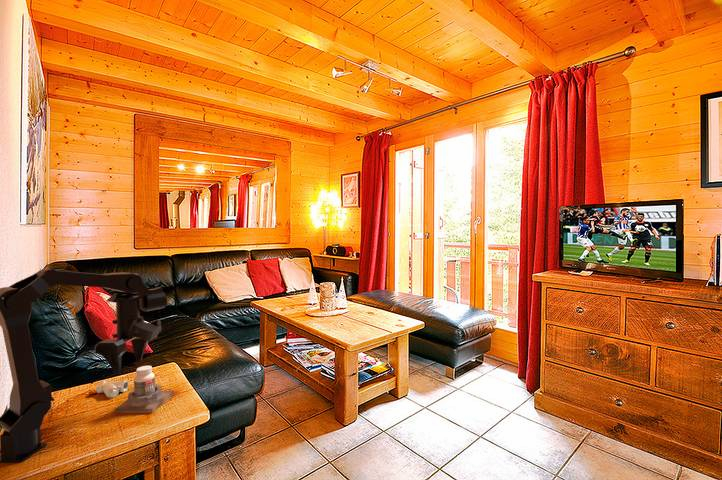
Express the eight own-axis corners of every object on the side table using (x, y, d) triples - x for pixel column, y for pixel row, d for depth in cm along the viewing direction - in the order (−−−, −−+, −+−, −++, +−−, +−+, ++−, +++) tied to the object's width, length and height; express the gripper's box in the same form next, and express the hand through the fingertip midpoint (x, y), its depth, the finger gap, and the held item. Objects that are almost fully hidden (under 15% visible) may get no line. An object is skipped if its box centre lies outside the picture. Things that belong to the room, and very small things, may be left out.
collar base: (152, 412, 99) (152, 400, 99) (114, 413, 99) (114, 400, 99) (173, 394, 110) (173, 383, 110) (139, 394, 110) (138, 383, 110)
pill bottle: (149, 403, 102) (147, 371, 101) (130, 404, 101) (129, 371, 101) (159, 395, 107) (158, 364, 107) (141, 395, 107) (140, 364, 107)
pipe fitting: (116, 400, 108) (129, 388, 115) (115, 388, 107) (128, 377, 114) (89, 401, 107) (104, 390, 114) (88, 390, 107) (103, 378, 113)
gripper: (133, 323, 92) (134, 380, 93) (172, 308, 111) (173, 356, 111) (92, 323, 92) (93, 380, 93) (138, 308, 111) (139, 356, 111)
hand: (128, 367), depth 102 cm, fingers open, 9 cm apart
